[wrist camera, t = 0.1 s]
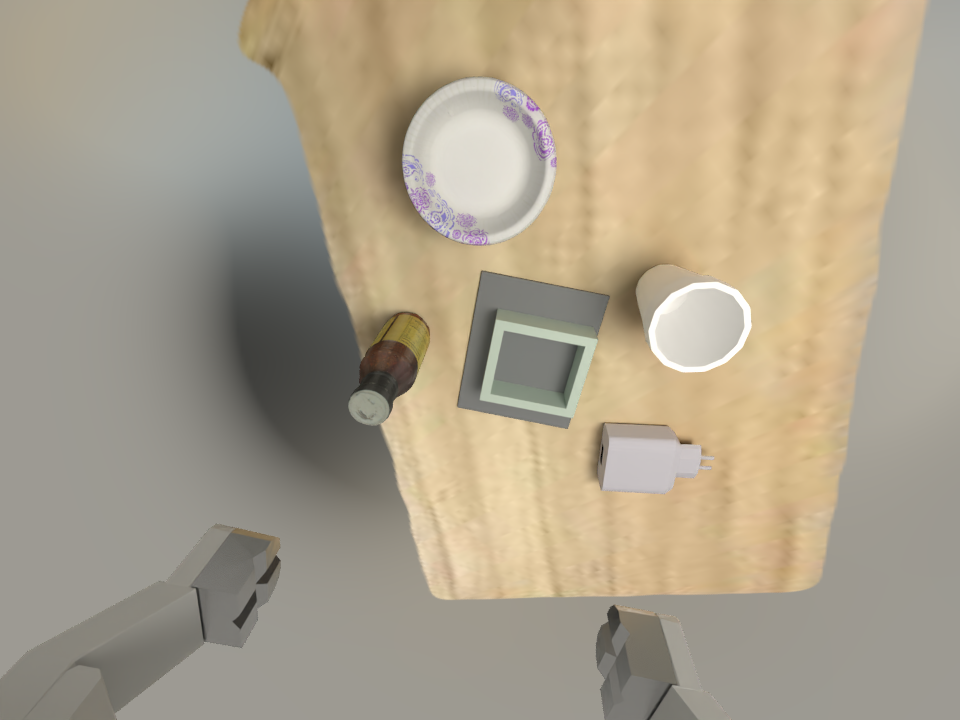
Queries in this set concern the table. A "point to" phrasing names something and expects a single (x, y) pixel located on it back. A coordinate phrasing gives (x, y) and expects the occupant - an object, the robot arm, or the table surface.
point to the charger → (645, 459)
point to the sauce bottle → (389, 367)
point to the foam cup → (691, 318)
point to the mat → (525, 341)
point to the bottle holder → (533, 396)
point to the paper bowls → (479, 161)
